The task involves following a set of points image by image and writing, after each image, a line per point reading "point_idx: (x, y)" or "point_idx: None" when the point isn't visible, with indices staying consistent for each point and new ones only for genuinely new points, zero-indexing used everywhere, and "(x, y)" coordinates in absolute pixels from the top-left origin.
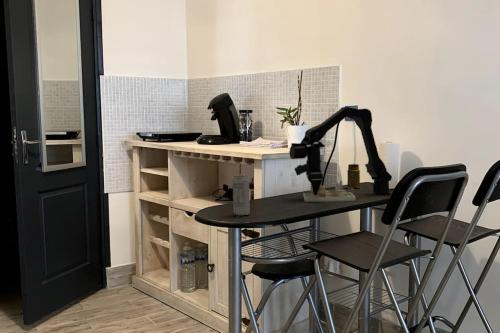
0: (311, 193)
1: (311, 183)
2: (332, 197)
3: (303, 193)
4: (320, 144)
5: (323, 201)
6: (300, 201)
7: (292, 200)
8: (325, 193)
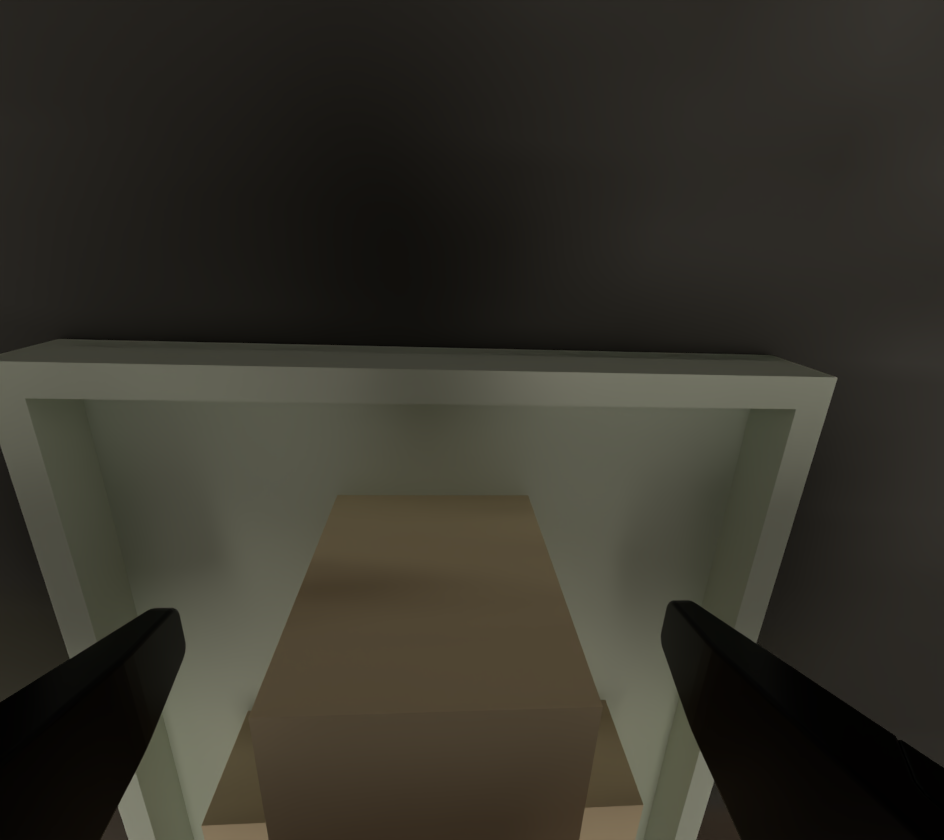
0: (313, 571)
1: (862, 808)
2: (132, 836)
3: (795, 379)
4: None
5: None
6: (169, 246)
7: (344, 35)
8: (237, 819)
